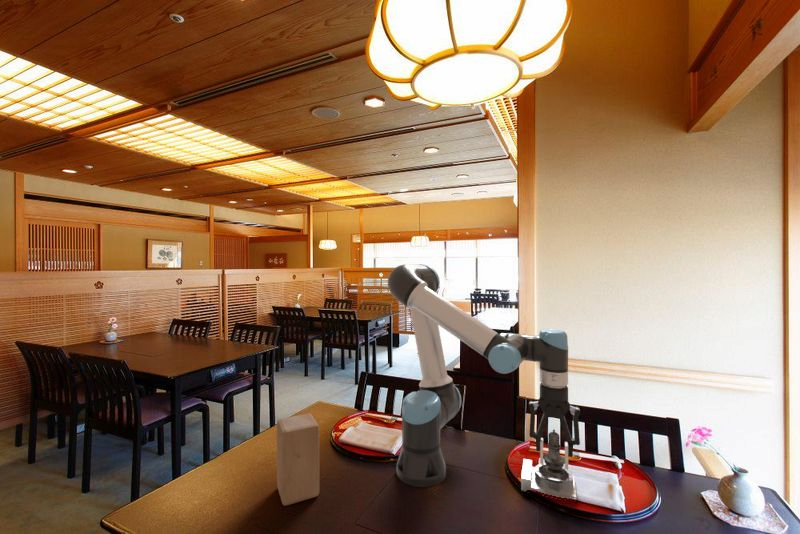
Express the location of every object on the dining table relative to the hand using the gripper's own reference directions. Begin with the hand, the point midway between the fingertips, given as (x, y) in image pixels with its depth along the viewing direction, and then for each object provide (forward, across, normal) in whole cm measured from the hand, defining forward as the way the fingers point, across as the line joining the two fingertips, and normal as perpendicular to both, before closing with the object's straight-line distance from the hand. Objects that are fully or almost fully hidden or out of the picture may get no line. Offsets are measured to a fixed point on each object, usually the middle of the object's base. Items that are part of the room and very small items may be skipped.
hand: (554, 464), depth 103 cm
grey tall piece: (+2, 0, 0) cm, 2 cm away
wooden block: (+6, -67, -30) cm, 73 cm away
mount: (+6, -2, 0) cm, 7 cm away
